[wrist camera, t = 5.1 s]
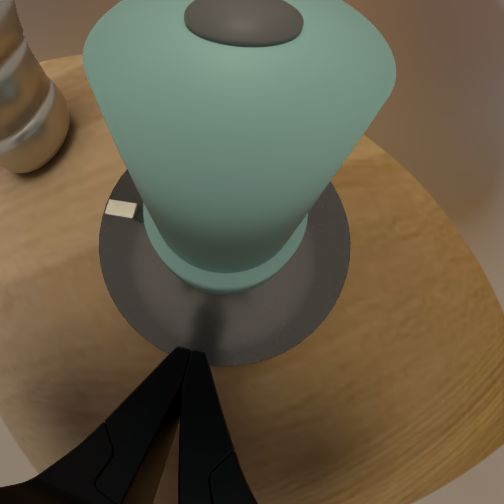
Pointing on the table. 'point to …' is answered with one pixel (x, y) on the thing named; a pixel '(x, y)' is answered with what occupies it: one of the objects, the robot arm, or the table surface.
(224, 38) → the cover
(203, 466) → the robot arm
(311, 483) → the table surface
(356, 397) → the table surface
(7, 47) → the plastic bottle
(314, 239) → the turntable
